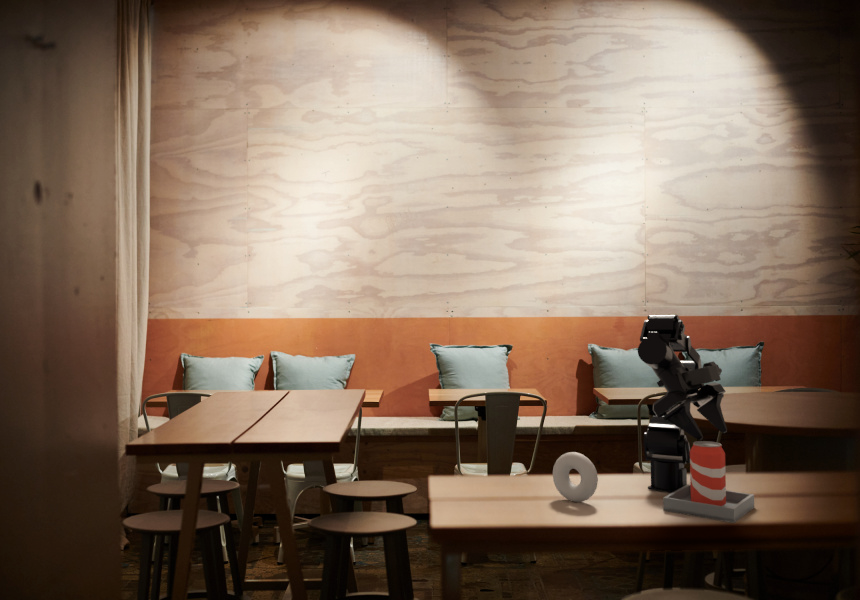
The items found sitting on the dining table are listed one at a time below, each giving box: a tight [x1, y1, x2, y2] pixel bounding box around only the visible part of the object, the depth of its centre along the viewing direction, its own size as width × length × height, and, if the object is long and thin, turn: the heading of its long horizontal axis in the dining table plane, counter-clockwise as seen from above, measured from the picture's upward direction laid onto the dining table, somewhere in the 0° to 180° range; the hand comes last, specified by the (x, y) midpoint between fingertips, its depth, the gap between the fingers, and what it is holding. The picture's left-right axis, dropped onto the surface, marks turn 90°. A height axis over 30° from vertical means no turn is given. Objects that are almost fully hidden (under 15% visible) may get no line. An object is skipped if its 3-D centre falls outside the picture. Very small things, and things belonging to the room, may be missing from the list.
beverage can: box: [689, 440, 727, 506], centre depth 134 cm, size 6×6×12 cm
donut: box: [552, 451, 599, 503], centre depth 140 cm, size 10×4×10 cm, turn 47°
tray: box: [662, 484, 755, 524], centre depth 134 cm, size 13×13×2 cm
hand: (713, 435), depth 138 cm, fingers open, 9 cm apart
